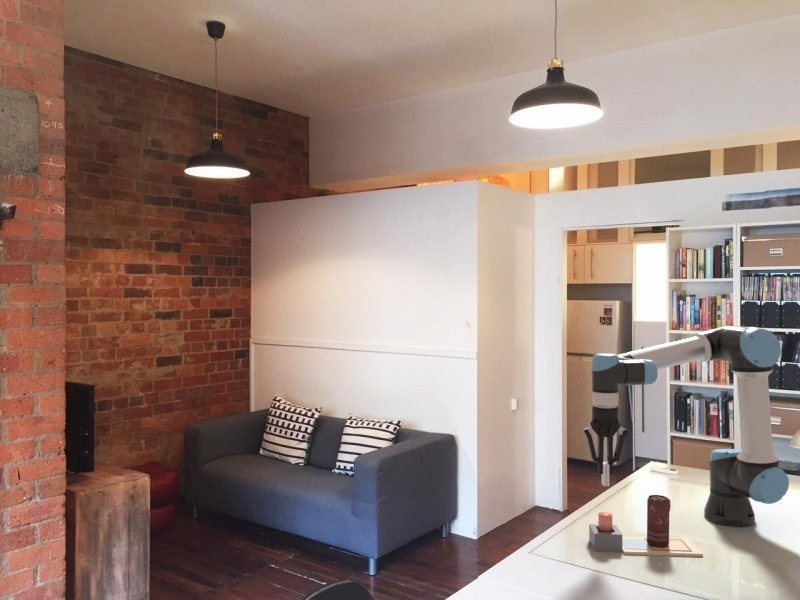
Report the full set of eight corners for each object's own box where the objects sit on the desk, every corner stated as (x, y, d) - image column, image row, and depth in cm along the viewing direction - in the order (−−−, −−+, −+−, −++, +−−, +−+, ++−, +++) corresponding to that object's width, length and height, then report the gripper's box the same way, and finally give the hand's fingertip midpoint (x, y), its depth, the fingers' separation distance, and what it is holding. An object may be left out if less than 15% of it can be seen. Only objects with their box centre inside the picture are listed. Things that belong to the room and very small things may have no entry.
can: (671, 549, 194) (672, 501, 194) (648, 547, 195) (648, 499, 195) (668, 541, 200) (668, 495, 200) (645, 539, 201) (646, 493, 201)
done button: (610, 527, 201) (610, 512, 200) (613, 531, 197) (613, 516, 197) (597, 526, 201) (597, 511, 201) (599, 531, 197) (599, 516, 197)
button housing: (616, 541, 202) (616, 524, 202) (622, 551, 194) (622, 534, 194) (589, 540, 203) (589, 524, 203) (594, 550, 195) (594, 533, 195)
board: (688, 540, 202) (688, 537, 202) (703, 556, 191) (703, 553, 190) (614, 538, 204) (614, 535, 204) (624, 554, 192) (624, 551, 192)
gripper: (624, 403, 201) (625, 481, 202) (580, 403, 203) (580, 480, 203) (631, 408, 194) (631, 488, 194) (584, 407, 195) (584, 487, 195)
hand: (605, 484), depth 199 cm, fingers closed
